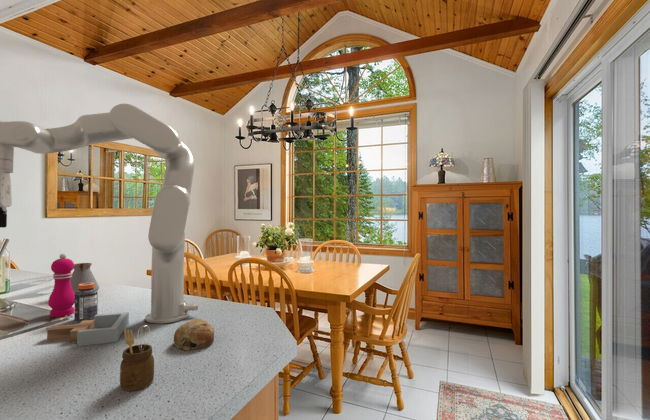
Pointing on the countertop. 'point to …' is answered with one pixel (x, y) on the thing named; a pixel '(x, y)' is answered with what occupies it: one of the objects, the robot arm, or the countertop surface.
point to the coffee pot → (82, 276)
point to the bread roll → (194, 335)
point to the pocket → (104, 329)
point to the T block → (68, 331)
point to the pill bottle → (85, 302)
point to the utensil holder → (136, 364)
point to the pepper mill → (62, 288)
